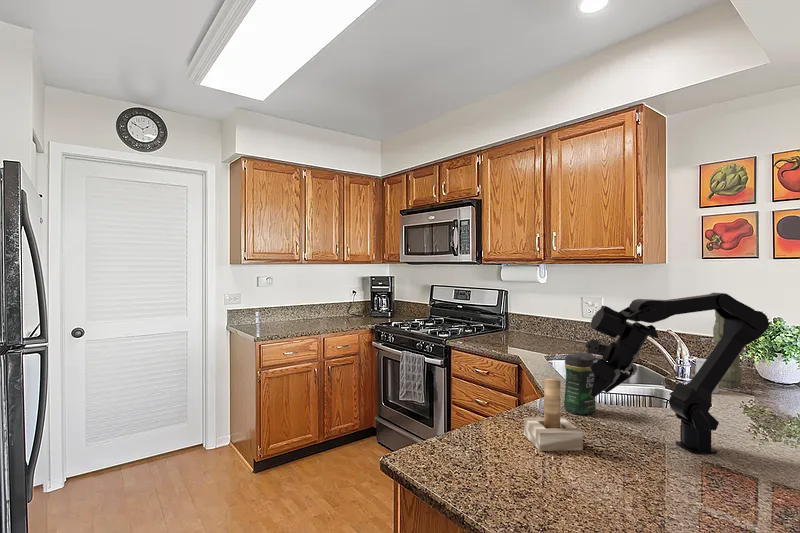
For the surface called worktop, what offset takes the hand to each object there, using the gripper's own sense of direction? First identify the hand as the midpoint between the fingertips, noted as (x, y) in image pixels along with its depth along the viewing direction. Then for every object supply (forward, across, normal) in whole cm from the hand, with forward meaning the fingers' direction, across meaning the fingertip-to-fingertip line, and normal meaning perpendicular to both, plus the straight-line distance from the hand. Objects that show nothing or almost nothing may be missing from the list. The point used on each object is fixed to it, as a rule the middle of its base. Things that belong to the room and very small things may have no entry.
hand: (599, 393), depth 114 cm
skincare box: (+1, -79, +14) cm, 80 cm away
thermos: (-2, -95, +17) cm, 97 cm away
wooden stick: (+15, +10, -2) cm, 18 cm away
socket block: (+15, +10, -2) cm, 18 cm away
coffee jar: (+15, -20, -7) cm, 26 cm away
